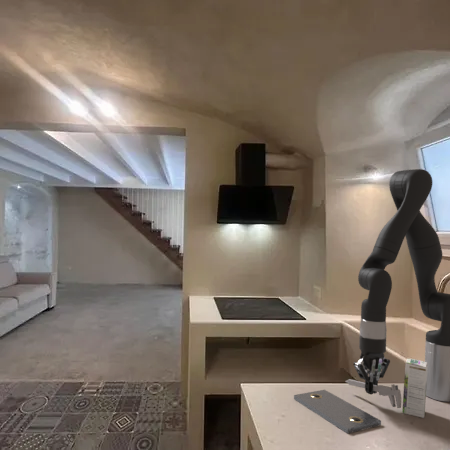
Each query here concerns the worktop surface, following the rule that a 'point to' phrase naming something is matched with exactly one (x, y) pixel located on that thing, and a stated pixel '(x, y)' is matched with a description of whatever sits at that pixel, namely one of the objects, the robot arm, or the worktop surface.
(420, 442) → the worktop surface
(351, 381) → the caliper
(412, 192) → the robot arm
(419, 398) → the syrup box
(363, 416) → the hole plate
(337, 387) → the worktop surface
